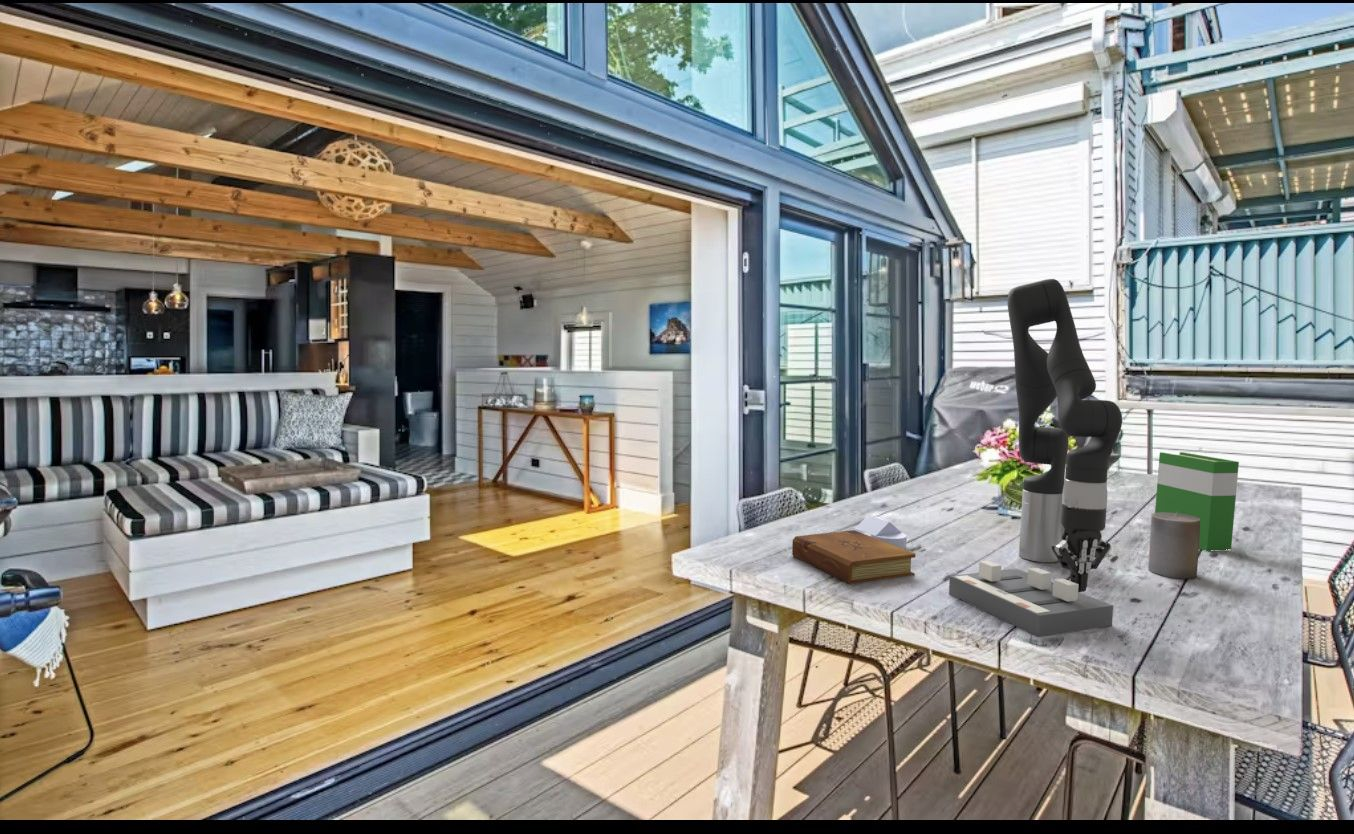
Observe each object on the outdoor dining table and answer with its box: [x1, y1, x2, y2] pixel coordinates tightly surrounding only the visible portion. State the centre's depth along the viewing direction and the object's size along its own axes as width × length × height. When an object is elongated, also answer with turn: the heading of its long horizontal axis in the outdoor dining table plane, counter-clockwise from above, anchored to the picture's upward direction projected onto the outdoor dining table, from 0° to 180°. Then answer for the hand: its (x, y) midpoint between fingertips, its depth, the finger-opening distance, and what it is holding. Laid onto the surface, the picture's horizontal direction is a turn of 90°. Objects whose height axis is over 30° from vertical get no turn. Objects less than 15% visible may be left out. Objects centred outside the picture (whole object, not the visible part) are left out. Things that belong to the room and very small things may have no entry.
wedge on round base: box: [854, 514, 907, 550], centre depth 193 cm, size 9×7×13 cm
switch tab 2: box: [1027, 567, 1052, 590], centre depth 146 cm, size 2×4×3 cm, turn 19°
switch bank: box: [948, 568, 1114, 638], centre depth 145 cm, size 18×24×4 cm
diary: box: [791, 529, 916, 585], centre depth 173 cm, size 23×19×6 cm
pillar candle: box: [1147, 511, 1200, 580], centre depth 171 cm, size 10×10×15 cm
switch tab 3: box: [1052, 578, 1079, 602], centre depth 139 cm, size 2×4×3 cm, turn 19°
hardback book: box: [1154, 451, 1240, 552], centre depth 199 cm, size 18×7×24 cm, turn 9°
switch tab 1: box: [978, 560, 1002, 582], centre depth 151 cm, size 2×4×3 cm, turn 19°
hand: (1078, 590), depth 140 cm, fingers closed
